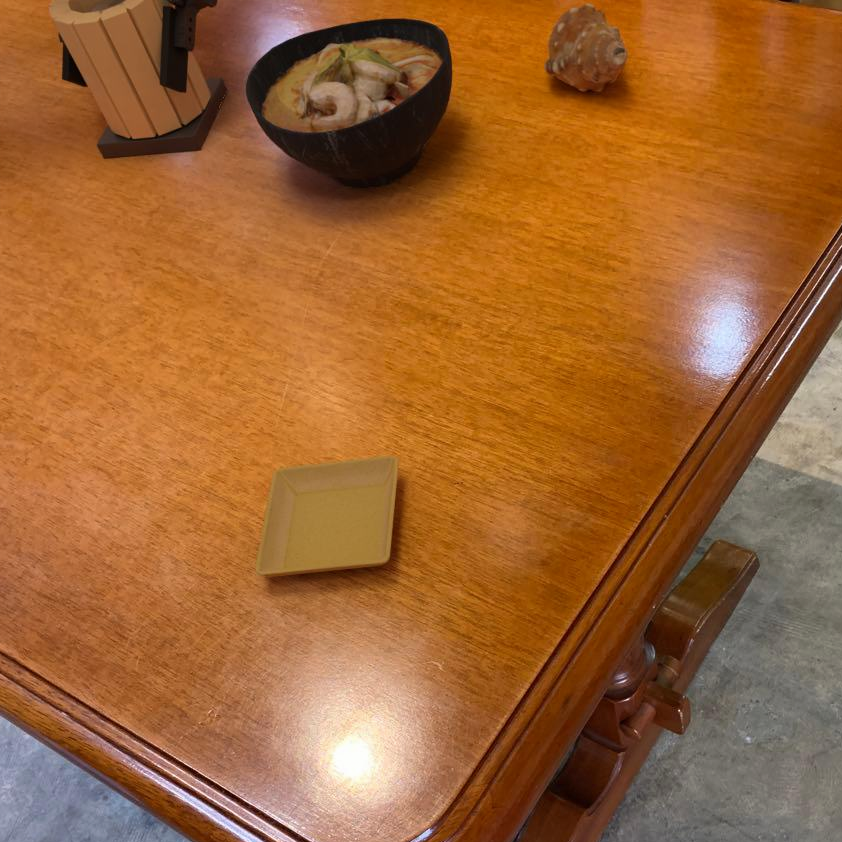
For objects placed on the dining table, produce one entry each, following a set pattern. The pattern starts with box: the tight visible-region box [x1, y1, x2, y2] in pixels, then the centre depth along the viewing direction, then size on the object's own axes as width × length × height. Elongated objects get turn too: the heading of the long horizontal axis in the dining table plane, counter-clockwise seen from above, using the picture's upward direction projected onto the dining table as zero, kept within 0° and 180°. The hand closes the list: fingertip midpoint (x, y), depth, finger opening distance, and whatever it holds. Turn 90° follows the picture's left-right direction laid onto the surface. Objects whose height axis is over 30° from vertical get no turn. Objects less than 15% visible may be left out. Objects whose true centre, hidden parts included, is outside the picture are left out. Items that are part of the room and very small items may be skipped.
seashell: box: [543, 3, 628, 92], centre depth 92 cm, size 9×8×10 cm
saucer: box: [254, 455, 400, 577], centre depth 66 cm, size 9×9×2 cm
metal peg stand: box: [91, 0, 228, 159], centre depth 96 cm, size 10×10×12 cm
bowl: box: [245, 17, 453, 190], centre depth 87 cm, size 17×17×10 cm
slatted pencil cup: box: [48, 0, 211, 139], centre depth 95 cm, size 10×10×11 cm
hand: (123, 86), depth 94 cm, fingers closed on slatted pencil cup, 10 cm apart
